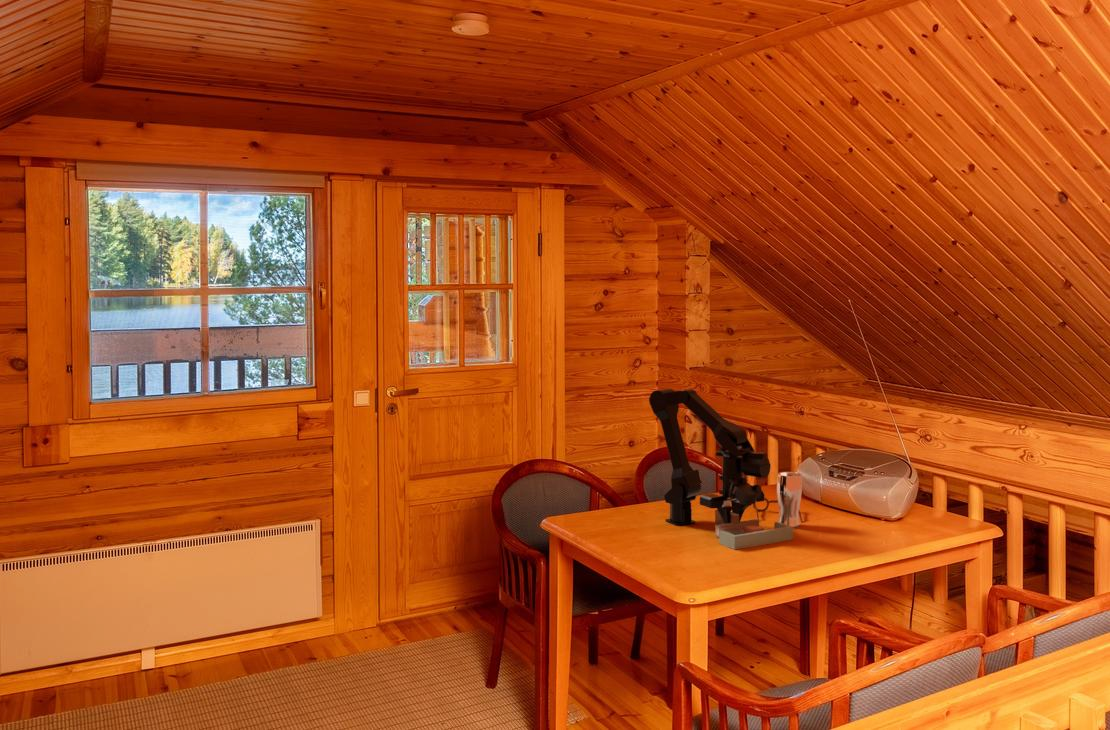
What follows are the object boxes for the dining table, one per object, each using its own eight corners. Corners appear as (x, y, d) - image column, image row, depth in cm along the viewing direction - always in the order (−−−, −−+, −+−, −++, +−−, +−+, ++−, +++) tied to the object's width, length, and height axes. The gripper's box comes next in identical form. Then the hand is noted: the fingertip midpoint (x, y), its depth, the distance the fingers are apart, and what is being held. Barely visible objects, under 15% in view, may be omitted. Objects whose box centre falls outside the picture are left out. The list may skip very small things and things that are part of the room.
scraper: (698, 529, 280) (698, 512, 279) (738, 523, 286) (738, 506, 286) (718, 537, 271) (718, 519, 271) (759, 530, 278) (759, 513, 277)
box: (719, 543, 266) (719, 530, 266) (777, 534, 276) (777, 521, 275) (734, 549, 261) (734, 536, 260) (793, 539, 270) (793, 526, 270)
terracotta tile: (743, 534, 275) (743, 526, 275) (754, 533, 277) (755, 524, 277) (752, 538, 272) (753, 529, 272) (764, 536, 274) (764, 527, 274)
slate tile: (723, 538, 272) (723, 529, 272) (734, 536, 274) (734, 527, 274) (732, 541, 269) (732, 532, 268) (743, 539, 270) (744, 530, 270)
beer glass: (801, 529, 281) (802, 477, 279) (776, 528, 282) (777, 476, 281) (800, 523, 287) (801, 472, 286) (775, 521, 289) (776, 471, 287)
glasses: (796, 513, 301) (797, 496, 301) (803, 524, 288) (803, 507, 288) (752, 512, 302) (753, 495, 302) (757, 523, 289) (757, 506, 289)
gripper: (723, 482, 264) (723, 539, 266) (778, 474, 273) (777, 530, 275) (698, 474, 274) (698, 530, 276) (751, 467, 283) (751, 521, 284)
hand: (732, 528), depth 277 cm, fingers closed on scraper, 2 cm apart
